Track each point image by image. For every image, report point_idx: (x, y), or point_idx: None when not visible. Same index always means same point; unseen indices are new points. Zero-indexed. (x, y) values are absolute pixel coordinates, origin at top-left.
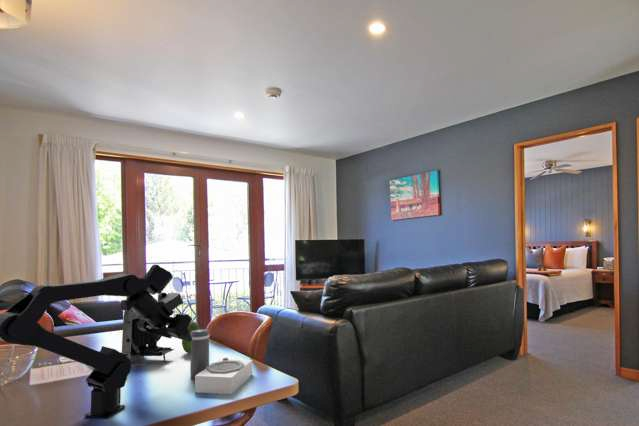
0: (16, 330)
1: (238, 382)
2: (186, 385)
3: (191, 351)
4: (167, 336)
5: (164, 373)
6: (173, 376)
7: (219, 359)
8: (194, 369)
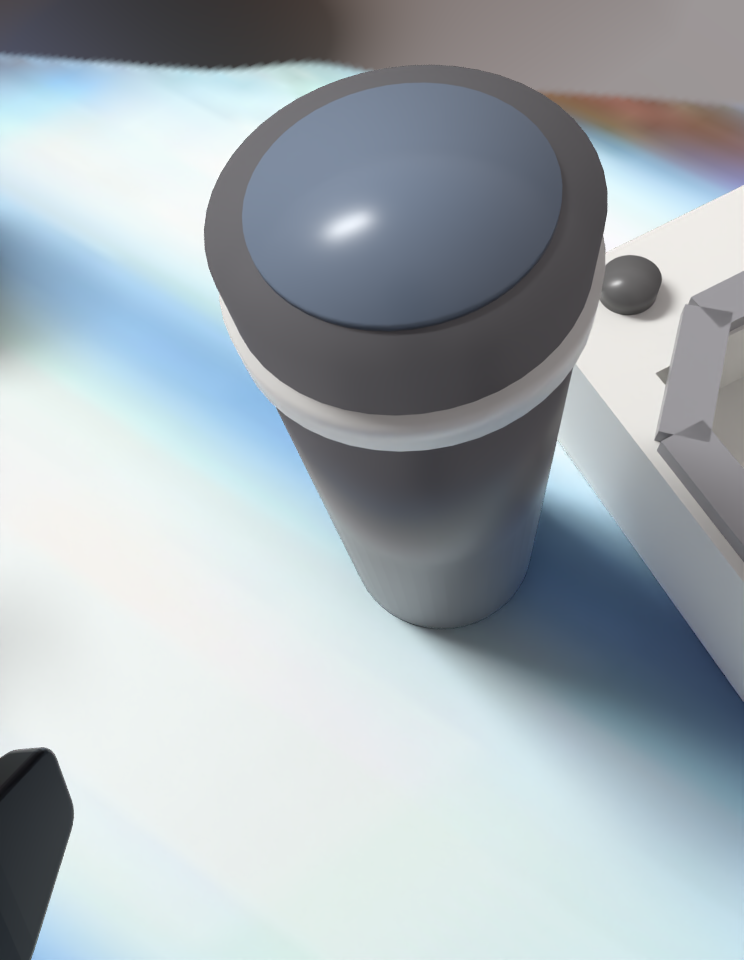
0: None
1: None
2: (557, 768)
3: (404, 529)
4: (22, 947)
5: (36, 690)
6: (195, 687)
7: None
8: (476, 593)
